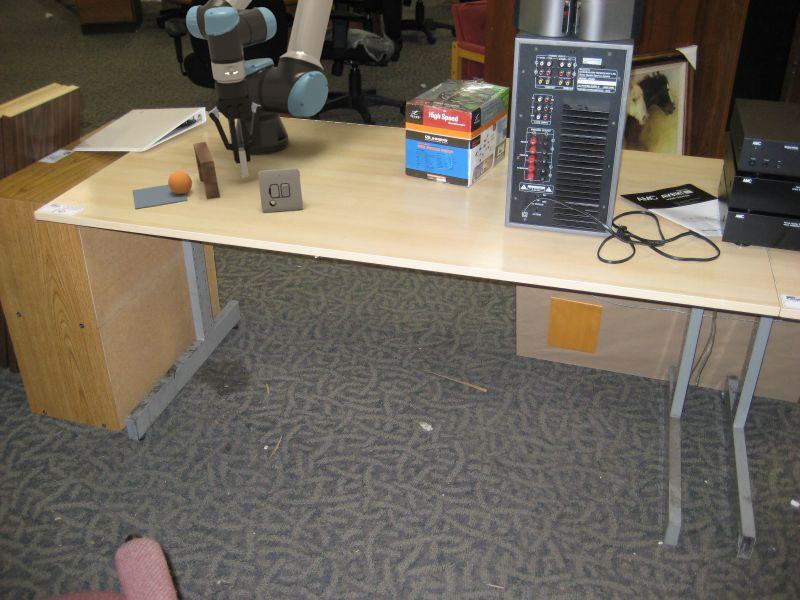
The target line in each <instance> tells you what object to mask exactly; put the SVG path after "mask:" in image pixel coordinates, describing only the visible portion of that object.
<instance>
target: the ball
mask: <svg viewBox="0 0 800 600" xmlns="http://www.w3.org/2000/svg"><path fill="white" fill-rule="evenodd" d="M167 183H168V184H167V185H169V187H170V189H171V190H172V191H173V192H174V193H176V194H188V192H189V191H190V190H191V189H192V187H193V181H192V178H191V176H190V175H189V174H188V173H187V172H185V171H180V170H179V171H175V172H172V174H171V175H170V176H169V177H168V181H167Z"/></svg>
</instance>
